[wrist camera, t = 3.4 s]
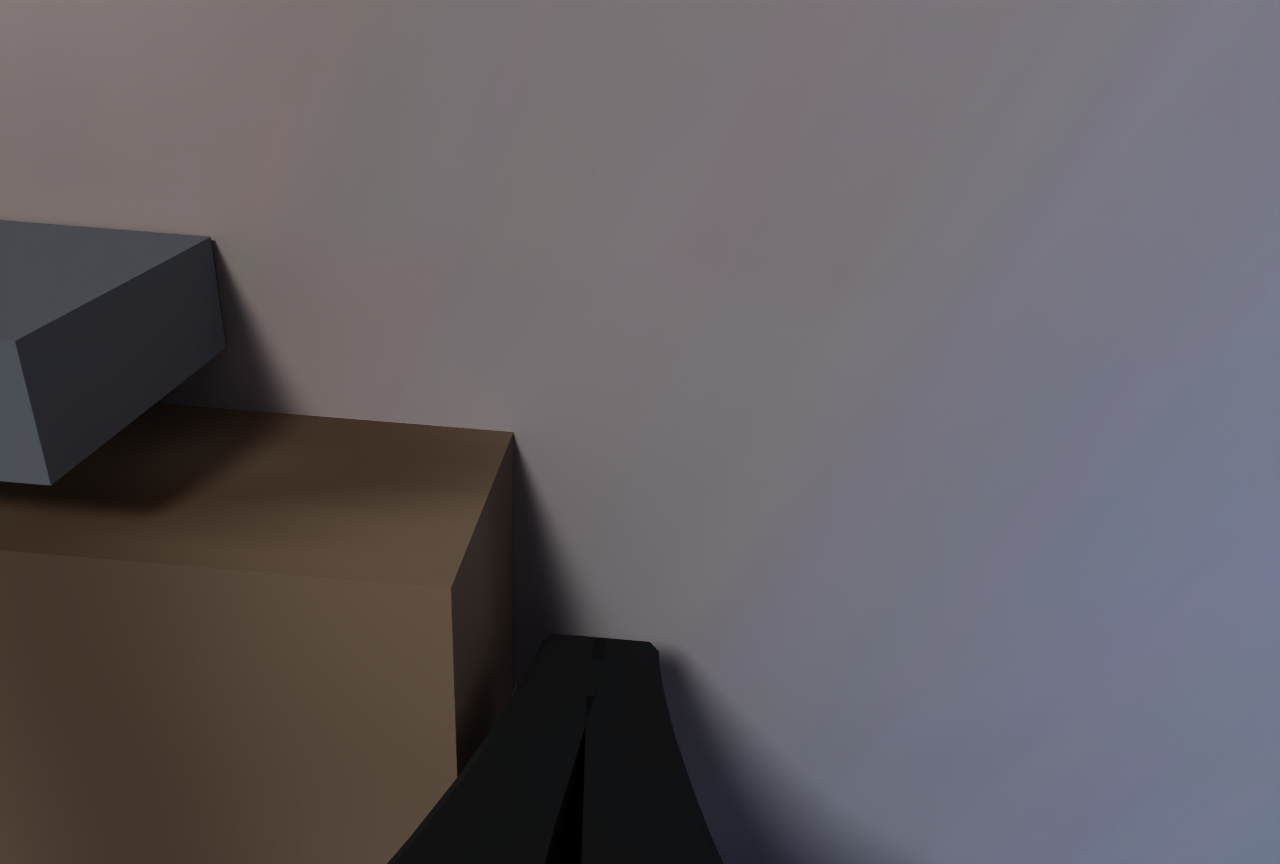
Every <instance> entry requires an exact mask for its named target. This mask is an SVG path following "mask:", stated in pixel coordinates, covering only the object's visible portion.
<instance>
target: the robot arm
mask: <svg viewBox="0 0 1280 864" xmlns="http://www.w3.org/2000/svg"><path fill="white" fill-rule="evenodd" d="M387 864H723V862H722V860H721V858H720V856H719V853H718V851H717V849H716V846H715V844H714V842H713V839H712V837H711V835H710V832H709V830H708V827H707V825H706V822H705V820H704V817H703V815H702V812H701V809H700V807H699V804H698V802H697V799H696V796H695V793H694V790H693V788H692V785H691V782H690V779H689V776H688V773H687V771H686V768H685V765H684V762H683V759H682V756H681V753H680V750H679V747H678V744H677V740H676V737H675V734H674V730H673V727H672V723H671V719H670V715H669V712H668V708H667V704H666V700H665V695H664V691H663V685H662V680H661V673H660V666H659V651H658V650H657V649H656V648H655V647H654V646H653V645H652V644H651V643H650V642H643V641H632V640H620V639H609V638H597V637H586V636H574V635H562V634H552V635H550V636H549V637H547V638H546V639H545V640H543V641H542V643H541V645H540V648H539V650H538V652H537V654H536V656H535V658H534V660H533V662H532V664H531V666H530V667H529V669H528V671H527V673H526V675H525V676H524V678H523V680H522V682H521V683H520V685H519V687H518V688H517V690H516V692H515V693H514V695H513V697H512V698H511V700H510V701H509V703H508V704H507V706H506V708H505V709H504V711H503V712H502V714H501V716H500V717H499V719H498V720H497V722H496V723H495V725H494V726H493V727H492V729H491V730H490V732H489V733H488V735H487V736H486V737H485V739H484V740H483V742H482V743H481V745H480V746H479V747H478V749H477V750H476V752H475V753H474V755H473V756H472V757H471V759H470V760H469V762H468V763H467V765H466V766H465V767H464V769H463V770H462V771H461V773H460V774H459V776H458V777H457V778H456V780H455V781H454V782H453V783H452V785H451V786H450V787H449V788H448V790H447V791H446V792H445V793H444V795H443V796H442V797H441V799H440V800H439V801H438V802H437V804H436V805H435V806H434V807H433V809H432V810H431V811H430V812H429V814H428V815H427V816H426V817H425V819H424V820H423V821H422V822H421V824H420V825H419V826H418V827H417V829H416V830H415V831H414V833H413V834H412V835H411V836H410V837H409V839H408V840H407V841H406V842H405V843H404V845H403V846H402V847H401V848H400V849H399V850H398V851H397V853H396V854H395V855H394V856H393V857H392V858H391V860H390V861H389V862H388V863H387Z"/></svg>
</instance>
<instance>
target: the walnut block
mask: <svg viewBox="0 0 1280 864" xmlns="http://www.w3.org/2000/svg"><path fill="white" fill-rule="evenodd" d="M512 669H513V432H504V431H491V430H479V429H467V428H454V427H442V426H430V425H417V424H405V423H393V422H380V421H368V420H356V419H343V418H331V417H319V416H306V415H294V414H282V413H269V412H257V411H245V410H232V409H220V408H208V407H195V406H183V405H171V404H158V403H155V404H154V405H153V406H151V407H150V408H149V409H148V410H146V411H145V412H144V413H142V414H141V415H140V416H139V417H137V418H136V419H135V420H134V421H132V422H131V423H130V424H128V425H127V426H126V427H125V428H123V429H122V430H121V431H120V432H118V433H117V434H116V435H114V436H113V437H112V438H111V439H109V440H108V441H107V442H106V443H104V444H103V445H102V446H100V447H99V448H98V449H97V450H95V451H94V452H93V453H92V454H90V455H89V456H88V457H86V458H85V459H84V460H83V461H81V462H80V463H79V464H78V465H76V466H75V467H74V468H72V469H71V470H70V471H69V472H67V473H66V474H65V475H64V476H62V477H61V478H60V479H58V480H57V481H56V482H55V483H53V484H52V485H39V484H28V483H16V482H4V481H0V864H387V863H388V862H389V861H390V860H391V858H392V857H393V856H394V855H395V854H396V853H397V851H398V850H399V849H400V848H401V847H402V846H403V845H404V843H405V842H406V841H407V840H408V839H409V837H410V836H411V835H412V834H413V833H414V831H415V830H416V829H417V827H418V826H419V825H420V824H421V822H422V821H423V820H424V819H425V817H426V816H427V815H428V814H429V812H430V811H431V810H432V809H433V807H434V806H435V805H436V804H437V802H438V801H439V800H440V799H441V797H442V796H443V795H444V793H445V792H446V791H447V790H448V788H449V787H450V786H451V785H452V783H453V782H454V781H455V780H456V778H457V777H458V776H459V774H460V773H461V771H462V770H463V769H464V767H465V766H466V765H467V763H468V762H469V760H470V759H471V757H472V756H473V755H474V753H475V752H476V750H477V749H478V747H479V746H480V745H481V743H482V742H483V740H484V739H485V737H486V736H487V735H488V733H489V732H490V730H491V729H492V727H493V726H494V725H495V723H496V722H497V720H498V719H499V717H500V716H501V714H502V712H503V711H504V709H505V708H506V706H507V704H508V703H509V701H510V700H511V698H512Z"/></svg>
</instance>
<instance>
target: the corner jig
mask: <svg viewBox="0 0 1280 864" xmlns="http://www.w3.org/2000/svg"><path fill="white" fill-rule="evenodd" d="M225 348H226V343H225V336H224V329H223V322H222V315H221V308H220V301H219V294H218V287H217V280H216V273H215V266H214V259H213V252H212V245H211V238H210V237H204V236H192V235H179V234H167V233H154V232H141V231H129V230H116V229H104V228H91V227H78V226H66V225H53V224H41V223H28V222H16V221H3V220H0V481H4V482H16V483H28V484H39V485H52V484H53V483H55V482H56V481H57V480H58V479H60V478H61V477H62V476H64V475H65V474H66V473H67V472H69V471H70V470H71V469H72V468H74V467H75V466H76V465H78V464H79V463H80V462H81V461H83V460H84V459H85V458H86V457H88V456H89V455H90V454H92V453H93V452H94V451H95V450H97V449H98V448H99V447H100V446H102V445H103V444H104V443H106V442H107V441H108V440H109V439H111V438H112V437H113V436H114V435H116V434H117V433H118V432H120V431H121V430H122V429H123V428H125V427H126V426H127V425H128V424H130V423H131V422H132V421H134V420H135V419H136V418H137V417H139V416H140V415H141V414H142V413H144V412H145V411H146V410H148V409H149V408H150V407H151V406H153V405H154V404H155V403H156V402H158V401H159V400H160V399H162V398H163V397H164V396H165V395H167V394H168V393H169V392H170V391H172V390H173V389H174V388H176V387H177V386H178V385H179V384H181V383H182V382H183V381H184V380H186V379H187V378H188V377H189V376H191V375H192V374H193V373H195V372H196V371H197V370H198V369H200V368H201V367H202V366H203V365H205V364H206V363H207V362H209V361H210V360H211V359H212V358H214V357H215V356H216V355H217V354H219V353H220V352H221V351H223V350H224V349H225Z"/></svg>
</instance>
